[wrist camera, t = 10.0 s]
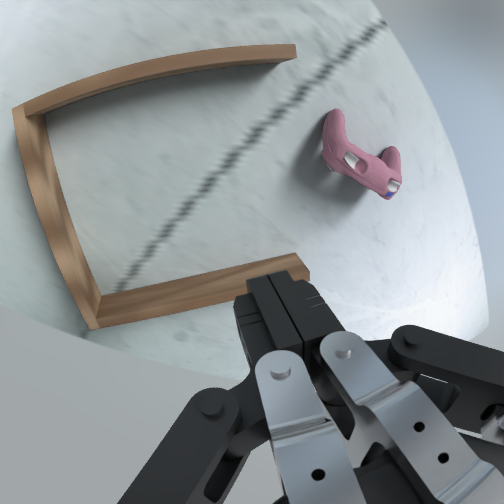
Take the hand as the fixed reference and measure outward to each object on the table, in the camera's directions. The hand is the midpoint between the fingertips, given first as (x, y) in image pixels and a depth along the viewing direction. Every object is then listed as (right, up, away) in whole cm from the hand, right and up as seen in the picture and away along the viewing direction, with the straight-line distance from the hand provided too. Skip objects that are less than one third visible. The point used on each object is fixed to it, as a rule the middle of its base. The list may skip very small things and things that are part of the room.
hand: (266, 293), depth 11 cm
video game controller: (+10, +12, +18) cm, 24 cm away
